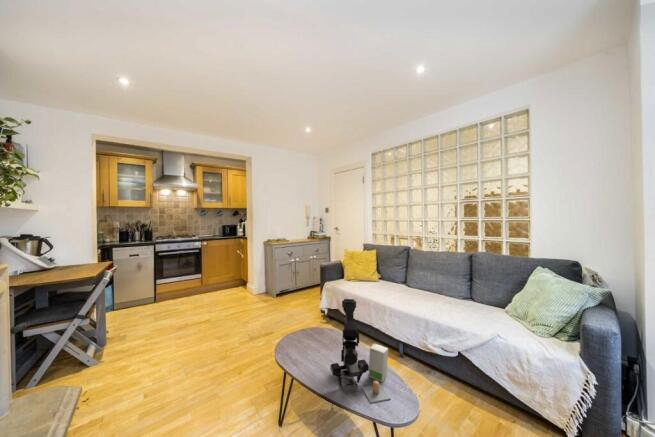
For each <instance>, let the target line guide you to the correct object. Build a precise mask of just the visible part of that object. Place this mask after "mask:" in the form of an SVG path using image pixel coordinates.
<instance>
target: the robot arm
mask: <svg viewBox="0 0 655 437" xmlns="http://www.w3.org/2000/svg"><path fill="white" fill-rule="evenodd" d="M341 308H342V311H343V313H344V314H345V323H344V325H343V329H342V349H341V351H340V352H341V354H340V358H341V360H340V361H341V363H342V362H343V364H342V365H340V364H339V363H337V362H335V363H331V364H330V372H331V373H332V376H333V377H336V378H337V380H338V384H339V386H340V387H342V386H341V379H342V376H343V375H342V373H343V374H344V376H349V378H351V377H354V378H356V383H357V384H359V383H360V381H361V378H362V376H363V374H365V373H367V372H369V363H368V362H367V361H366V360H365V359H358V358H359V353H358V351H357V350H356V347H359V344H360V332H359V330H358V329H357V324H356V323H355V322H354V321H355V320H354V319H355V318H354V315H355V314H354V312H355V311H356V308H357V301H356V300H355V299H353V298H344V299H343V300H342V301H341Z"/></svg>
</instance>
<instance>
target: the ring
mask: <svg viewBox="0 0 655 437" xmlns="http://www.w3.org/2000/svg"><path fill="white" fill-rule="evenodd" d="M351 384H352V385H351ZM358 384H359V383H357V380H356V379H355V377H345V378H341V386H340V387H341V388H342V390H343V393H344V394H348V393H354V392H358V391H359V385H358Z"/></svg>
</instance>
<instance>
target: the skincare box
mask: <svg viewBox="0 0 655 437" xmlns="http://www.w3.org/2000/svg"><path fill="white" fill-rule="evenodd" d="M388 356H389V348H388V347H386V346H383V345H382V344H377V343H373V344H372V346H370V347H369V362H368V365H369V370H368V377H369V378H372V380H375V381H378V382H379V383H383V382H384V381H385V379H386V378H387V376H388Z"/></svg>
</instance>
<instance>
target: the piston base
mask: <svg viewBox="0 0 655 437" xmlns="http://www.w3.org/2000/svg"><path fill="white" fill-rule="evenodd" d="M372 383H373V384H372V385H370V386H364V387H362V391H363V393H364V394H365V396H366V398H367V399H368V401H369V403H370V404H374V403H381V402H385V401H390V400H391V396H389V394H388V393H387V392H386V390H385V388H384V387H383V385H382V384H380V381H378V380H373V382H372Z"/></svg>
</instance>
